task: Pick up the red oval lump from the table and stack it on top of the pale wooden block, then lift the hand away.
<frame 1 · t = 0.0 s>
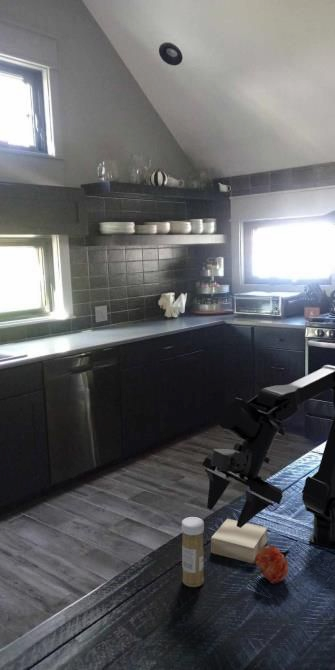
hand: (223, 517, 114), 15 cm above the table, tool tilted 35°, fingers open, 9 cm apart
pale wooden block: (239, 548, 131), on the table
sprinkles bottle: (192, 582, 118), on the table
red oval lump: (269, 580, 119), on the table
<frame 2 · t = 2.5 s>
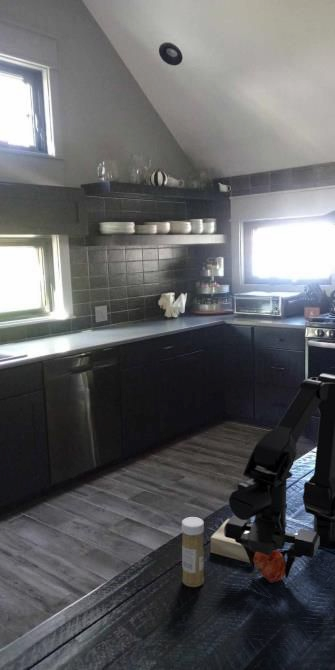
hand: (270, 572, 118), 1 cm above the table, tool pointing down, fingers closed on red oval lump, 7 cm apart
red oval lump: (268, 579, 119), on the table, touching gripper
everything else where it was.
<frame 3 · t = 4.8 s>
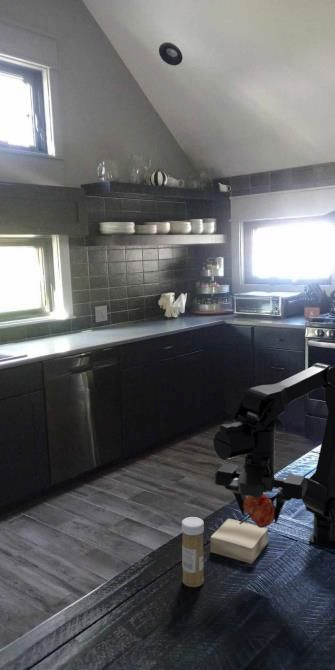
hand: (259, 518, 121), 11 cm above the table, tool pointing down, fingers closed on red oval lump, 7 cm apart
red oval lump: (257, 525, 121), point 10 cm above the table, touching gripper
everything else where it was.
when the fingers open (7 cm above the table, at t = 7.3 s): red oval lump drops 2 cm, resting on pale wooden block.
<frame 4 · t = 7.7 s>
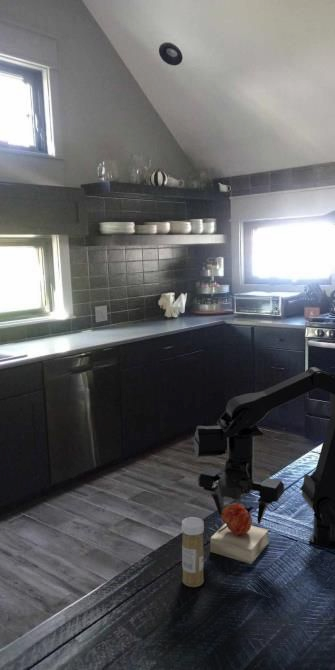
hand: (239, 518, 130), 7 cm above the table, tool pointing down, fingers open, 9 cm apart
pale wooden block: (239, 549, 131), on the table, touching red oval lump
red oval lump: (235, 534, 131), point 3 cm above the table, touching pale wooden block
everything else where it was.
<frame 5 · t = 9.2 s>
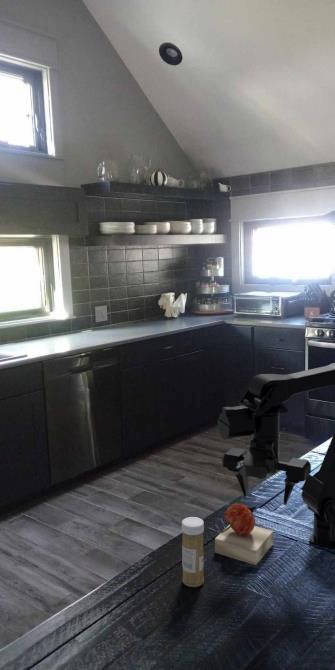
hand: (265, 500, 126), 13 cm above the table, tool pointing down, fingers open, 9 cm apart
pale wooden block: (244, 550, 130), on the table
red oval lump: (238, 534, 130), point 3 cm above the table
everything else where it was.
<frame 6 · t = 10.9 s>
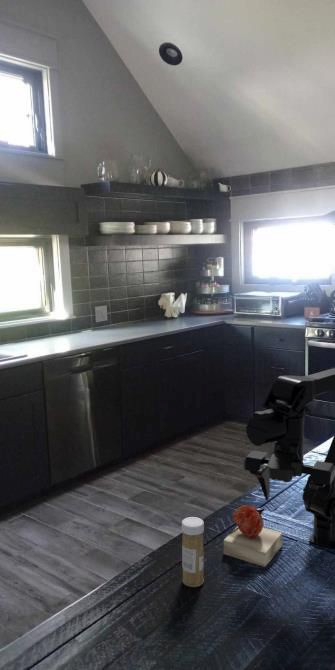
hand: (287, 503, 124), 13 cm above the table, tool pointing down, fingers open, 9 cm apart
pale wooden block: (253, 552, 130), on the table, touching red oval lump
red oval lump: (246, 536, 130), point 3 cm above the table, touching pale wooden block
everything else where it was.
at the end: red oval lump 1.5 cm off-centre on the pale wooden block, point 3.8 cm above the pale wooden block's base; red oval lump touching pale wooden block; the gripper is holding nothing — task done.
